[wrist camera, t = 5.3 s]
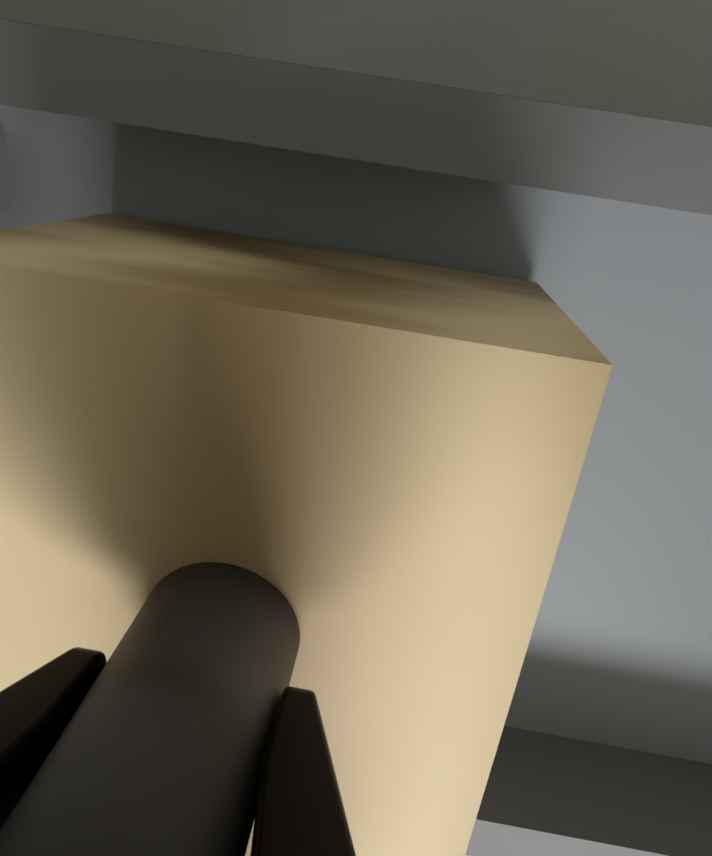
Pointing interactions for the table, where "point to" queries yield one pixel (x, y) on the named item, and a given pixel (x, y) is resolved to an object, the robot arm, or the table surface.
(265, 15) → the table surface
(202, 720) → the beige block with peg
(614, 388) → the tray
